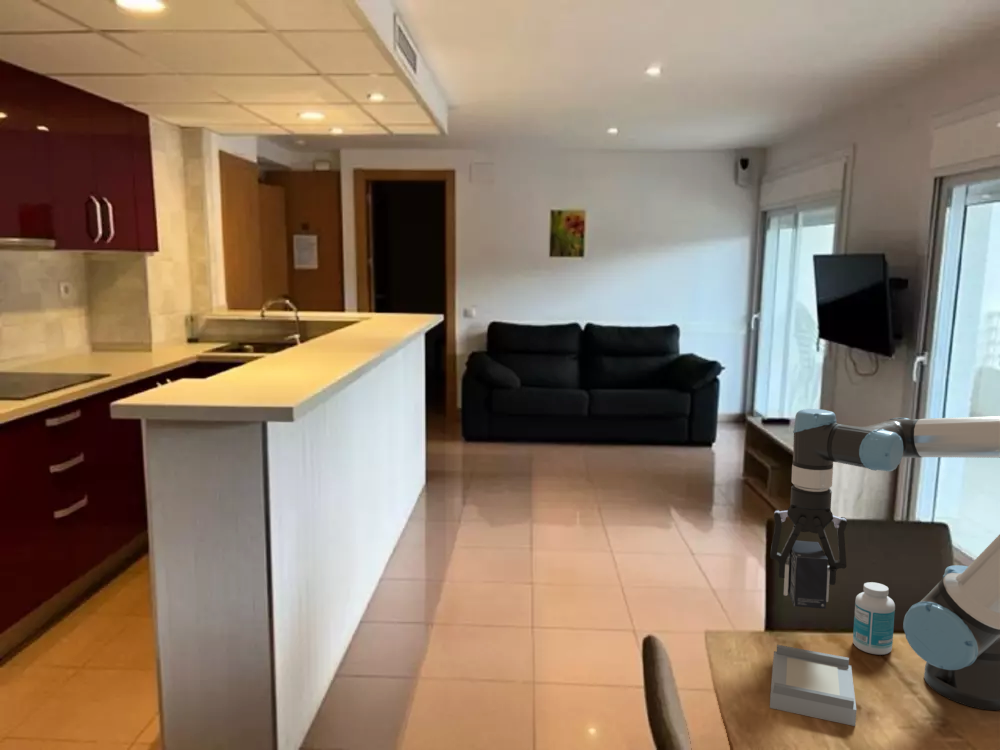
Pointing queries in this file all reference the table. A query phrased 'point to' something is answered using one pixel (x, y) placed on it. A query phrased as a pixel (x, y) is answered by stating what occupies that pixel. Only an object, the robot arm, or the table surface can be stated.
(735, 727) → the table surface
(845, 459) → the robot arm
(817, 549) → the small box
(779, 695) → the dock
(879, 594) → the pill bottle
